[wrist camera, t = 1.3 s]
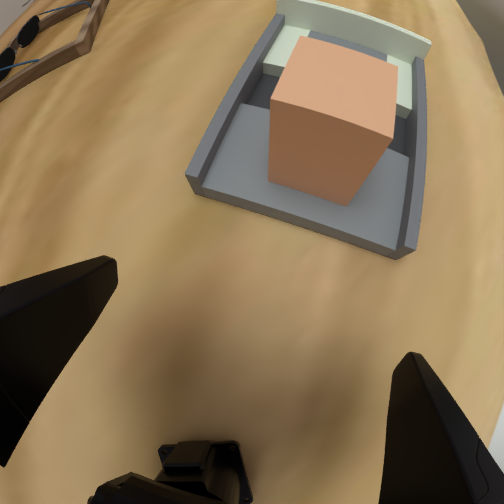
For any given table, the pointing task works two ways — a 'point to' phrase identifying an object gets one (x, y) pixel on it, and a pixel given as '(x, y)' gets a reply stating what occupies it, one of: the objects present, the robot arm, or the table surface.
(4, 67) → the sunglasses
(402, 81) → the box
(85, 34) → the walnut glasses tray
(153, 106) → the table surface
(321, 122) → the terracotta block
